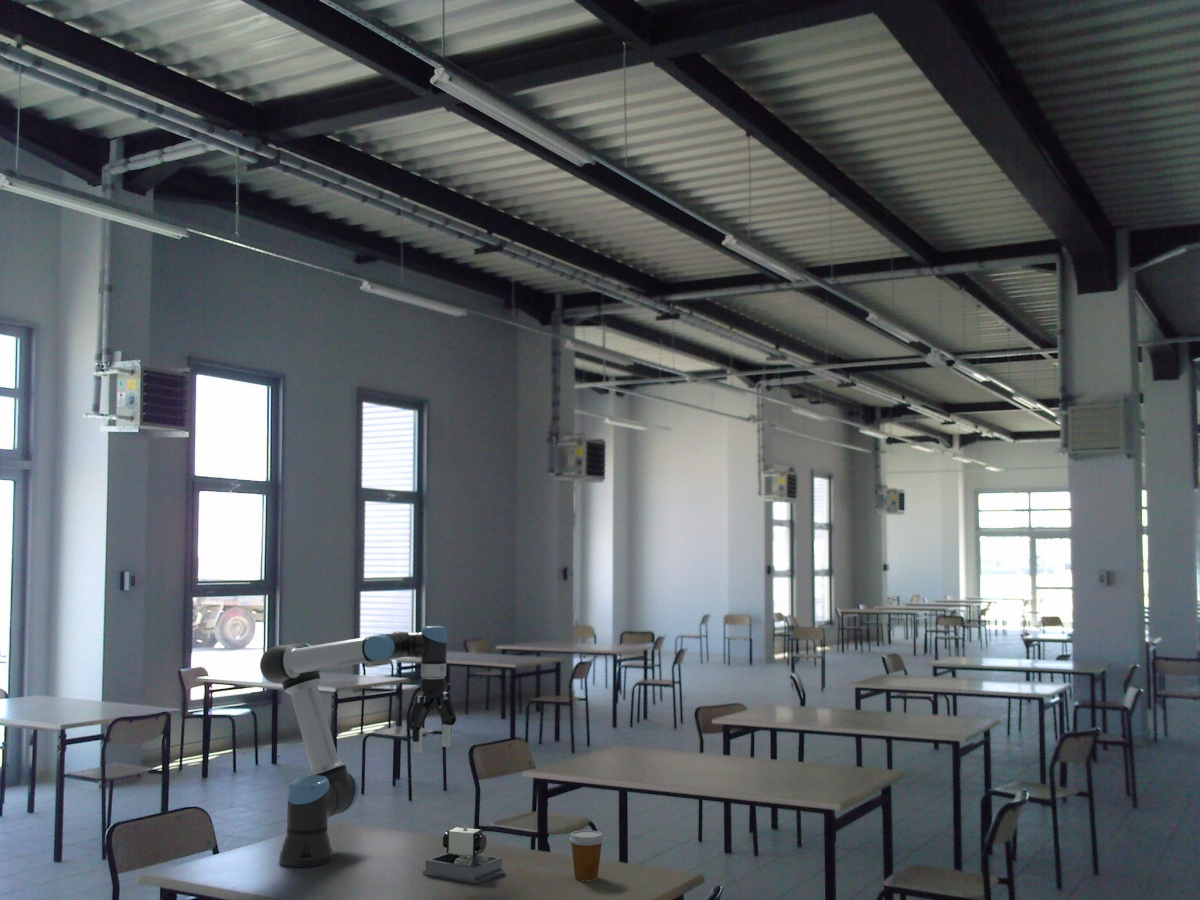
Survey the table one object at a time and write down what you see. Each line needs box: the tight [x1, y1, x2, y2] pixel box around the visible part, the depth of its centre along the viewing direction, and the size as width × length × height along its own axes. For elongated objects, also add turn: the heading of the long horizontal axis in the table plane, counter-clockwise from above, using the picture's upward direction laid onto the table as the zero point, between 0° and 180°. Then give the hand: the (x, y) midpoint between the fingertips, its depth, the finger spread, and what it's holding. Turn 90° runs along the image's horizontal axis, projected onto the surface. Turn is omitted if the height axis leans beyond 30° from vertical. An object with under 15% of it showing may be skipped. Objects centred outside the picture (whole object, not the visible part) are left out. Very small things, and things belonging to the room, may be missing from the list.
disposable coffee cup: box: [569, 829, 604, 881], centre depth 299 cm, size 10×10×12 cm
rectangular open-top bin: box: [422, 852, 505, 885], centre depth 302 cm, size 19×13×4 cm
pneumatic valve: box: [442, 825, 488, 867], centre depth 303 cm, size 6×12×12 cm, turn 70°
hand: (431, 749), depth 321 cm, fingers open, 13 cm apart
